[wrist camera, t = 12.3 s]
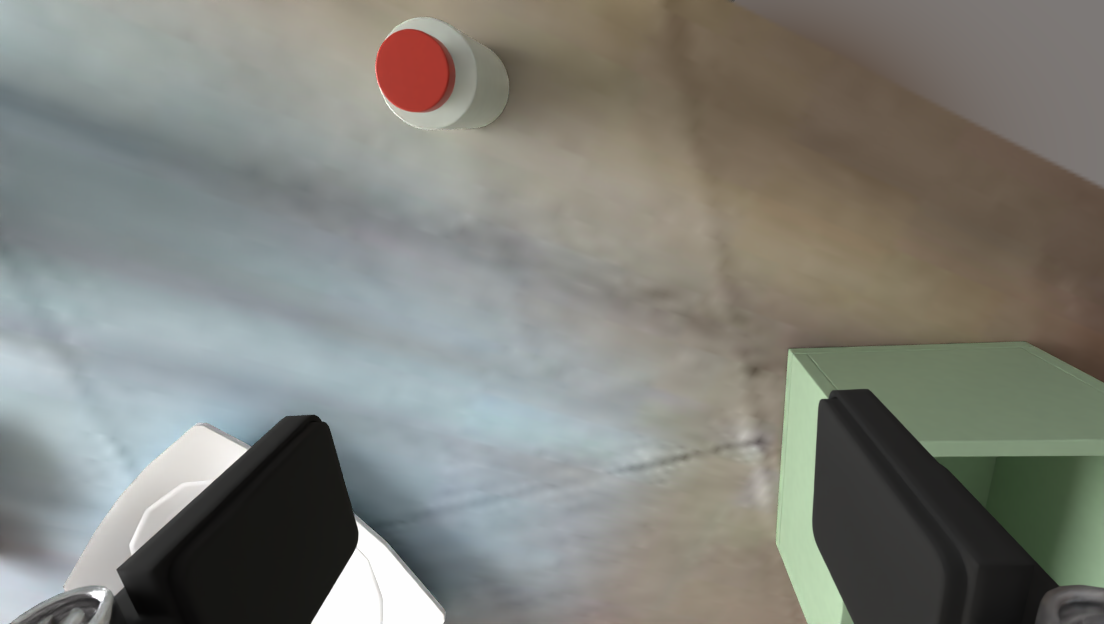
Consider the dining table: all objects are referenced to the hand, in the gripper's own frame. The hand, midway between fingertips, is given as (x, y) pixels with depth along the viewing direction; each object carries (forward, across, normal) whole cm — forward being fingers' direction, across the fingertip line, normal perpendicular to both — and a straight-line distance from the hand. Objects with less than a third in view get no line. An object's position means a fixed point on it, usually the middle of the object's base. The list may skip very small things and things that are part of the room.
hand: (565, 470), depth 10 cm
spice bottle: (+23, +6, -9) cm, 25 cm away
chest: (+23, -17, +16) cm, 33 cm away
